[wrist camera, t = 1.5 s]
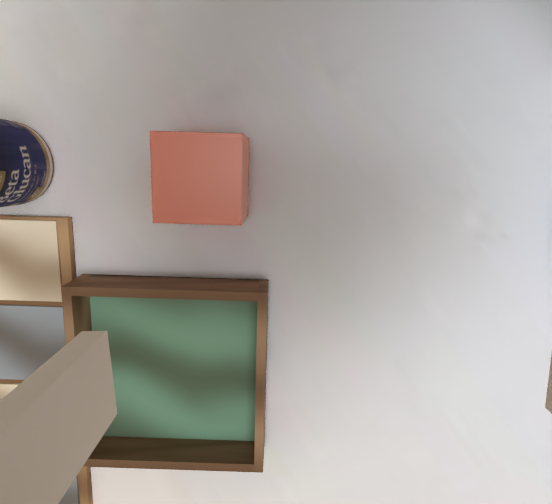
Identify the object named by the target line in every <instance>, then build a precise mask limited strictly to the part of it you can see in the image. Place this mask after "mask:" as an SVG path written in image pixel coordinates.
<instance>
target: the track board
mask: <svg viewBox="0 0 552 504" xmlns="http://www.w3.org/2000/svg"><path fill="white" fill-rule="evenodd" d="M75 278H76V268H75V254H74V241H73V227H72V217H49V216H16V215H0V400H2V399H3V398H4V397H5V396H6V395H7V394H9V393H10V392H11V391H12V390H13V389H14V388H16V387H17V386H18V385H19V384H20V383H22V382H23V381H24V380H25V379H26V378H27V377H29V376H30V375H31V374H32V373H33V372H34V371H36V370H37V369H38V368H39V367H40V366H42V365H43V364H44V363H45V362H46V361H47V360H49V359H50V358H51V357H52V356H53V355H54V354H56V353H57V352H58V351H59V350H60V349H62V348H63V347H64V346H65V345H66V340H65V328H64V316H63V303H62V291H61V286H63V285H65V284H67V283H68V282H70V281H72V280H74V279H75ZM59 504H93V501H92V487H91V473H90V467H84V466H83V467H82V469H81V470H80V472H79V473H78V475H77V476H76V478H75V479H74V481H73V482H72V484H71V485H70V487H69V488H68V490H67V491H66V493H65V494H64V496H63V498H62V499H61V501H60V502H59Z"/></svg>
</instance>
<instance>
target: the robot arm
mask: <svg viewBox="0 0 552 504" xmlns="http://www.w3.org/2000/svg"><path fill="white" fill-rule="evenodd" d="M545 408H546V409H548V410H549V411H550V412H551V413H552V356H551V364H550V372H549V381H548V389H547V397H546V405H545ZM116 415H117V406H116V398H115V390H114V381H113V373H112V365H111V357H110V349H109V341H108V332H107V331H82V332H80V333H79V334H78V335H77V336H76V337H74V338H73V339H72V340H71V341H70V342H69V343H67V344H66V345H65V346H64V347H63V348H62V349H60V350H59V351H58V352H57V353H56V354H54V355H53V356H52V357H51V358H50V359H49V360H47V361H46V362H45V363H44V364H43V365H42V366H40V367H39V368H38V369H37V370H36V371H34V372H33V373H32V374H31V375H30V376H29V377H27V378H26V379H25V380H24V381H23V382H22V383H20V384H19V385H18V386H17V387H16V388H14V389H13V390H12V391H11V392H10V393H9V394H7V395H6V396H5V397H4V398H3V399H2V400H0V504H59V502H60V501H61V499H62V498H63V496H64V494H65V493H66V491H67V490H68V488H69V487H70V485H71V484H72V482H73V481H74V479H75V478H76V476H77V475H78V473H79V472H80V470H81V469H82V467H83V465H84V464H85V462H86V461H87V459H88V458H89V456H90V455H91V453H92V452H93V450H94V449H95V447H96V446H97V444H98V443H99V441H100V440H101V438H102V436H103V435H104V433H105V432H106V430H107V429H108V427H109V426H110V424H111V423H112V421H113V420H114V418H115V417H116Z"/></svg>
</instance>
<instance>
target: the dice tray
mask: <svg viewBox="0 0 552 504" xmlns="http://www.w3.org/2000/svg"><path fill="white" fill-rule="evenodd" d="M268 281H269V280H258V279H225V278H192V277H159V276H126V275H93V274H82V275H81V276H79V277H77V278H75V279H74V280H72V281H70V282H68V283H67V284H65V285H63V286H61V291H62V303H63V316H64V328H65V340H66V344H67V343H69V342H70V341H71V340H72V339H73V338H74V337H76V336H77V335H78V334H79V333H80V332H82V331H107V332H108V341H109V349H110V357H111V365H112V373H113V381H114V390H115V398H116V406H117V415H116V417H115V418H114V420H113V421H112V423H111V424H110V426H109V427H108V429H107V430H106V432H105V433H104V435H103V436H102V438H101V440H100V441H99V443H98V444H97V446H96V447H95V449H94V450H93V452H92V453H91V455H90V456H89V458H88V459H87V461H86V462H85V464H84V465H83V466H84V467H114V468H145V469H175V470H206V471H236V472H263V458H264V438H265V399H266V359H267V320H268Z"/></svg>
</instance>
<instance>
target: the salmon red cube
mask: <svg viewBox="0 0 552 504" xmlns="http://www.w3.org/2000/svg"><path fill="white" fill-rule="evenodd" d="M150 151H151V182H152V213H153V223H175V224H209V225H242V224H243V222H244V221H245V219H246V217H247V216H248V185H249V138H248V137H246V136H245V135H244V134H242V133H208V132H172V131H150Z"/></svg>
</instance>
